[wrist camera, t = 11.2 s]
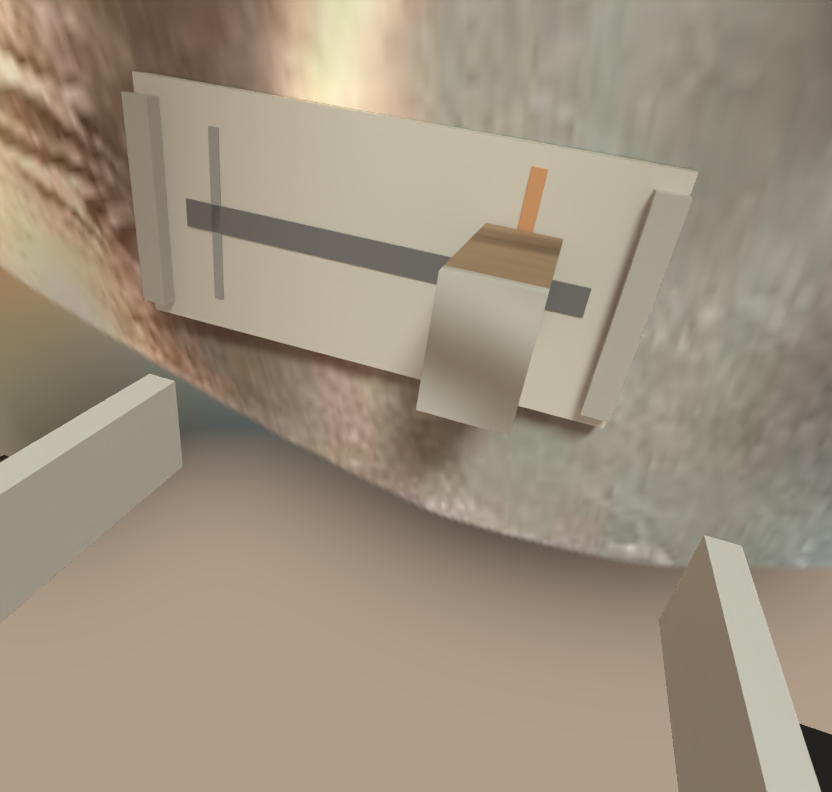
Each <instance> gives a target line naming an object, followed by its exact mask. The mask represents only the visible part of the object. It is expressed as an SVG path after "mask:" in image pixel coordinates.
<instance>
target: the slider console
mask: <svg viewBox="0 0 832 792" xmlns="http://www.w3.org/2000/svg"><path fill="white" fill-rule="evenodd" d="M132 75H133V85H134V92H124V91H121V96H122V105H123V115H124V124H125V133H126V142H127V152H128V161H129V170H130V180H131V189H132V198H133V207H134V217H135V226H136V235H137V244H138V254H139V263H140V272H141V282H142V291H143V300H147V301H151V302H155V309H157V310H160V311H164V312H168V313H172V314H175V315H179V316H183V317H187V318H190V319H194V320H198V321H202V322H205V323H209V324H213V325H217V326H220V327H224V328H228V329H232V330H235V331H239V332H243V333H247V334H250V335H254V336H258V337H262V338H265V339H269V340H273V341H277V342H280V343H284V344H288V345H292V346H295V347H299V348H303V349H307V350H311V351H314V352H318V353H322V354H326V355H329V356H333V357H337V358H341V359H344V360H348V361H352V362H356V363H359V364H363V365H367V366H371V367H374V368H378V369H382V370H386V371H389V372H393V373H397V374H401V375H404V376H408V377H412V378H416V379H419V380H421V376H422V370H423V364H424V358H425V352H426V346H427V340H428V334H429V328H430V321H431V315H432V309H433V303H434V297H435V291H436V285H437V279H438V273H439V270H440V269H441V268H442V267H443V266H444V265H445V264H446V263H447V262H448V261H449V260H450V259H451V258H452V257H453V256H454V255H455V254H456V253H457V252H458V251H459V250H460V249H461V247H462V246H463V245H464V244H465V243H466V242H467V241H468V240H469V239H470V238H471V237H472V236H473V235H474V234H475V233H476V232H477V231H478V230H479V229H480V228H481V227H482V226H483V225H484V224H485V223H489V224H494V225H499V226H504V227H509V228H513V229H518V230H523V231H528V232H533V233H537V234H542V235H547V236H552V237H557V238H561V239H563V243H562V246H561V250H560V254H559V257H558V261H557V265H556V268H555V272H554V276H553V279H552V283H551V287H550V290H549V294H548V298H547V302H546V305H545V309H544V313H543V316H542V320H541V324H540V327H539V331H538V335H537V338H536V342H535V346H534V349H533V353H532V357H531V360H530V364H529V368H528V371H527V375H526V379H525V382H524V386H523V390H522V393H521V397H520V401H519V404H518V406H521V407H524V408H528V409H532V410H536V411H539V412H543V413H547V414H551V415H554V416H558V417H562V418H566V419H569V420H573V421H577V422H581V423H584V424H588V425H592V426H596V427H599V428H603V429H604V427H605V424H606V422H610V420H611V417H612V414H613V412H614V409H615V406H616V404H617V401H618V398H619V396H620V393H621V390H622V388H623V385H624V382H625V380H626V377H627V374H628V372H629V369H630V366H631V364H632V361H633V358H634V356H635V353H636V350H637V348H638V345H639V342H640V340H641V337H642V334H643V332H644V329H645V326H646V324H647V321H648V318H649V316H650V313H651V310H652V307H653V305H654V302H655V299H656V297H657V294H658V291H659V289H660V286H661V283H662V281H663V278H664V275H665V273H666V270H667V267H668V265H669V262H670V259H671V257H672V254H673V251H674V249H675V246H676V243H677V241H678V238H679V235H680V233H681V230H682V227H683V225H684V222H685V219H686V217H687V214H688V211H689V209H690V206H691V203H692V201H693V198H692V197H691V196H690V195H691V192H692V189H693V187H694V184H695V181H696V179H697V176H698V172H697V171H695V170H694V169H688V168H682V167H677V166H671V165H665V164H660V163H654V162H649V161H643V160H637V159H632V158H626V157H621V156H615V155H609V154H604V153H598V152H592V151H587V150H581V149H576V148H570V147H564V146H559V145H553V144H548V143H542V142H536V141H531V140H525V139H519V138H514V137H508V136H503V135H497V134H491V133H486V132H480V131H475V130H469V129H463V128H458V127H452V126H446V125H441V124H435V123H430V122H424V121H418V120H413V119H407V118H402V117H396V116H390V115H385V114H379V113H373V112H368V111H362V110H357V109H351V108H345V107H340V106H334V105H329V104H323V103H317V102H312V101H306V100H300V99H295V98H289V97H284V96H278V95H272V94H267V93H261V92H256V91H250V90H244V89H239V88H233V87H227V86H222V85H216V84H211V83H205V82H199V81H194V80H188V79H183V78H177V77H171V76H166V75H160V74H154V73H146V72H134V71H132Z"/></svg>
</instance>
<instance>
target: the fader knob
mask: <svg viewBox="0 0 832 792" xmlns="http://www.w3.org/2000/svg"><path fill="white" fill-rule="evenodd" d="M562 243H563V239H561V238H557V237H552V236H547V235H542V234H537V233H533V232H528V231H523V230H518V229H513V228H509V227H504V226H499V225H494V224H489V223H485V224H484V225H483V226H482V227H481V228H480V229H479V230H478V231H477V232H476V233H475V234H474V235H473V236H472V237H471V238H470V239H469V240H468V241H467V242H466V243H465V244H464V245H463V246H462V247H461V249H460V250H459V251H458V252H457V253H456V254H455V255H454V256H453V257H452V258H451V259H450V260H449V261H448V262H447V263H446V264H445V265H444V266H443V267H442V268H441V269H440V270H439V273H438V279H437V285H436V291H435V297H434V303H433V309H432V315H431V321H430V328H429V334H428V340H427V346H426V352H425V358H424V364H423V370H422V376H421V382H420V388H419V394H418V400H417V406H416V410H418V411H421V412H425V413H429V414H432V415H436V416H439V417H443V418H447V419H450V420H454V421H457V422H461V423H465V424H468V425H472V426H475V427H479V428H483V429H486V430H490V431H494V432H497V433H501V434H504V435H508V436H510V434H511V430H512V426H513V423H514V419H515V415H516V412H517V408H518V404H519V401H520V397H521V393H522V390H523V386H524V382H525V379H526V375H527V371H528V368H529V364H530V360H531V357H532V353H533V349H534V346H535V342H536V338H537V335H538V331H539V327H540V324H541V320H542V316H543V313H544V309H545V305H546V302H547V298H548V294H549V290H550V287H551V283H552V279H553V276H554V272H555V268H556V265H557V261H558V257H559V254H560V250H561V246H562Z"/></svg>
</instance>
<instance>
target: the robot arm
mask: <svg viewBox="0 0 832 792" xmlns="http://www.w3.org/2000/svg"><path fill="white" fill-rule="evenodd" d="M181 467H182V456H181V445H180V433H179V421H178V409H177V399H176V386H175V381H173V380H169V379H166V378H162V377H159V376H155V375H152V374H148V375H147V376H145V377H143V378H142V379H140V380H138V381H136V382H135V383H133V384H132V385H130V386H128V387H126V388H125V389H123V390H121V391H120V392H118V393H116V394H115V395H113V396H111V397H110V398H108V399H106V400H105V401H103V402H101V403H99V404H98V405H96V406H95V407H93V408H91V409H89V410H88V411H86V412H84V413H83V414H81V415H79V416H78V417H76V418H74V419H73V420H71V421H69V422H68V423H66V424H64V425H63V426H61V427H59V428H57V429H56V430H54V431H53V432H51V433H49V434H47V435H46V436H44V437H42V438H41V439H39V440H37V441H36V442H34V443H32V444H30V445H29V446H27V447H25V448H24V449H22V450H20V451H19V452H17V453H15V454H14V455H12V456H10V457H8V456H5V455H3V456H1V457H0V623H1V622H2V621H3V620H4V619H5V618H7V617H8V616H9V615H10V614H11V613H12V612H14V611H15V610H16V609H17V608H18V607H19V606H21V605H22V604H23V603H24V602H25V601H26V600H28V599H29V598H30V597H31V596H32V595H33V594H34V593H36V592H37V591H38V590H39V589H40V588H41V587H42V586H44V585H45V584H46V583H47V582H48V581H49V580H51V579H52V578H53V577H54V576H55V575H56V574H58V573H59V572H60V571H61V570H62V569H63V568H65V567H66V566H67V565H68V564H69V563H70V562H72V561H73V560H74V559H75V558H76V557H77V556H78V555H80V554H81V553H82V552H83V551H84V550H86V549H87V548H88V547H89V546H90V545H91V544H92V543H94V542H95V541H96V540H97V539H98V538H99V537H100V536H102V535H103V534H104V533H105V532H106V531H107V530H109V529H110V528H111V527H112V526H113V525H115V524H116V523H117V522H118V521H119V520H120V519H121V518H123V517H124V516H125V515H126V514H127V513H128V512H129V511H131V510H132V509H133V508H134V507H135V506H137V505H138V504H139V503H140V502H141V501H142V500H144V499H145V498H146V497H147V496H148V495H149V494H150V493H151V492H153V491H154V490H155V489H156V488H157V487H159V486H160V485H161V484H162V483H163V482H164V481H166V480H167V479H168V478H169V477H170V476H171V475H172V474H174V473H175V472H176V471H177V470H178V469H179V468H181ZM659 626H660V634H661V643H662V650H663V651H662V652H663V660H664V669H665V677H666V686H667V695H668V703H669V712H670V721H671V729H672V738H673V747H674V755H675V764H676V773H677V781H678V789H679V792H832V735H831V734H828V733H825V732H822V731H819V730H816V729H813V728H810V727H807V726H805V725H802V724H799V722H798V719H797V716H796V712H795V709H794V706H793V703H792V700H791V697H790V694H789V691H788V688H787V685H786V682H785V678H784V675H783V672H782V669H781V666H780V663H779V660H778V657H777V654H776V651H775V648H774V645H773V642H772V638H771V636H770V632H769V629H768V626H767V623H766V620H765V617H764V614H763V610H762V607H761V604H760V601H759V598H758V595H757V592H756V589H755V586H754V583H753V580H752V576H751V573H750V570H749V567H748V564H747V561H746V558H745V555H744V552H743V549H742V546H740V545H736V544H733V543H729V542H726V541H723V540H719V539H716V538H712V537H709V536H705V535H704V537H703V538H702V540H701V542H700V544H699V546H698V548H697V550H696V551H695V553H694V555H693V557H692V559H691V561H690V562H689V564H688V566H687V568H686V570H685V572H684V574H683V575H682V577H681V579H680V581H679V583H678V585H677V586H676V588H675V590H674V592H673V594H672V596H671V597H670V599H669V601H668V603H667V605H666V607H665V609H664V611H663V612H662V614H661V616H660V618H659Z"/></svg>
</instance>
